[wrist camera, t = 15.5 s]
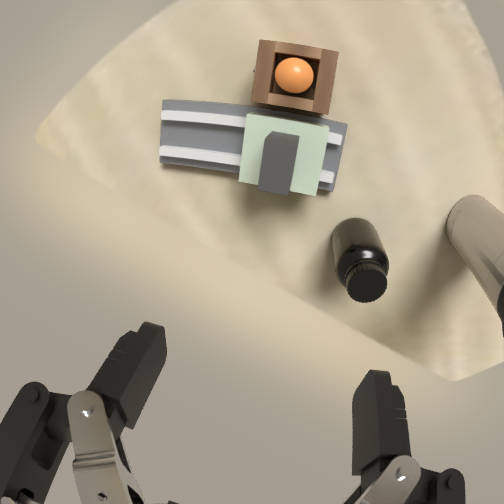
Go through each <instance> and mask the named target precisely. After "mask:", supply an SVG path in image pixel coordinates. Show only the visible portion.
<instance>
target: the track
mask: <svg viewBox="0 0 504 504" xmlns="http://www.w3.org/2000/svg"><path fill="white" fill-rule="evenodd" d="M251 112H254V113H261V114H268V115H275V116H281V117H287V118H292V119H298V120H303V121H308V122H313V123H318V124H323V125H328V126H329V128H330V129H329V134H328V140H327V145H326V150H325V155H324V160H323V164H322V169H321V174H320V179H319V183H318V188H319V189H323V190H328V191H332V192H333V189H334V185H335V181H336V176H337V172H338V168H339V163H340V159H341V154H342V149H343V145H344V140H345V135H346V130H347V124H345V123H341V122H337V121H332V120H328V119H323V118H318V117H314V116H308V115H303V114H298V113H292V112H287V111H281V110H274V109H268V108H261V107H253V106H246V105H237V104H228V103H217V102H205V101H190V100H168V99H167V100H163V103H162V111H161V137H160V147H159V155H160V163H168V164H176V165H184V166H192V167H199V168H206V169H213V170H220V171H226V172H233V173H240V165H241V156H242V148H243V140H244V132H245V124H246V116H247V114H248V113H251Z"/></svg>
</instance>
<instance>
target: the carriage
mask: <svg viewBox="0 0 504 504" xmlns="http://www.w3.org/2000/svg"><path fill="white" fill-rule="evenodd" d="M329 129H330V128H329V126H328V125H323V124H318V123H313V122H308V121H303V120H298V119H292V118H287V117H281V116H275V115H268V114H261V113H254V112H251V113H248V114H247V116H246V124H245V132H244V140H243V148H242V156H241V165H240V173H239V182H244V183H250V184H256V185H258V188H257V190H259V191H265V192H270V193H275V194H281V195H286V196H289V192H290V191H293V192H298V193H303V194H308V195H312V196H316V193H317V188H318V183H319V179H320V174H321V169H322V164H323V160H324V155H325V150H326V145H327V140H328V134H329Z"/></svg>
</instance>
